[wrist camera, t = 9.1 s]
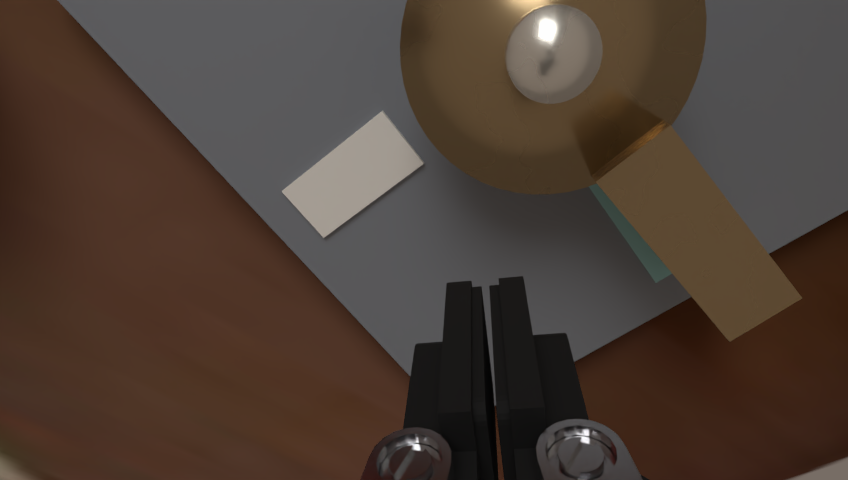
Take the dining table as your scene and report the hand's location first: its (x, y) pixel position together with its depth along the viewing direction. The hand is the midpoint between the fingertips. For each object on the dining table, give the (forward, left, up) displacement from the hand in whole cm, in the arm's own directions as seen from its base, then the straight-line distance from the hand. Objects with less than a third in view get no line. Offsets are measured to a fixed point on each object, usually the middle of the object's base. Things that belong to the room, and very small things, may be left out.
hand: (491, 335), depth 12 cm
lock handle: (-5, 0, -9) cm, 10 cm away
